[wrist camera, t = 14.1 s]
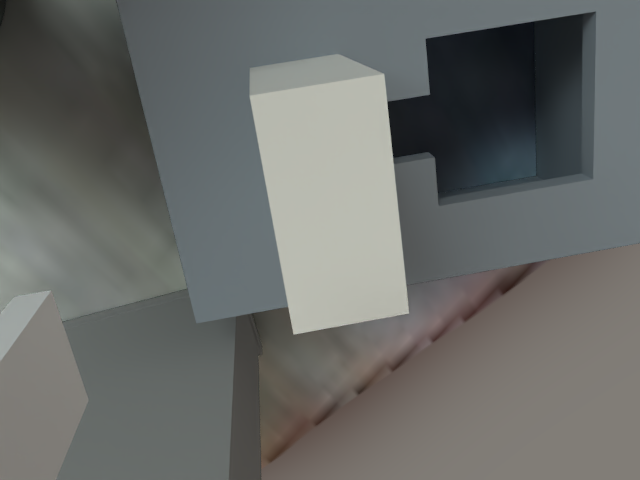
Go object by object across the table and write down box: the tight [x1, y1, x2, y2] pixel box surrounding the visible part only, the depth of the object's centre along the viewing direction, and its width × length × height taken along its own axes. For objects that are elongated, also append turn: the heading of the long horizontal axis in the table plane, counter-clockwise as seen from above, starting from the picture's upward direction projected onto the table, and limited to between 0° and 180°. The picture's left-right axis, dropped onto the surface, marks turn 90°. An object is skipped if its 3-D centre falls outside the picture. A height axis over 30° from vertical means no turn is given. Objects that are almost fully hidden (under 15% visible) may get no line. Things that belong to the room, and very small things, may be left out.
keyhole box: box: [116, 0, 640, 323], centre depth 34 cm, size 24×16×11 cm, turn 98°
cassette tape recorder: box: [56, 289, 262, 480], centre depth 32 cm, size 14×6×25 cm, turn 103°
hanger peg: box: [249, 54, 409, 335], centre depth 27 cm, size 6×8×16 cm
